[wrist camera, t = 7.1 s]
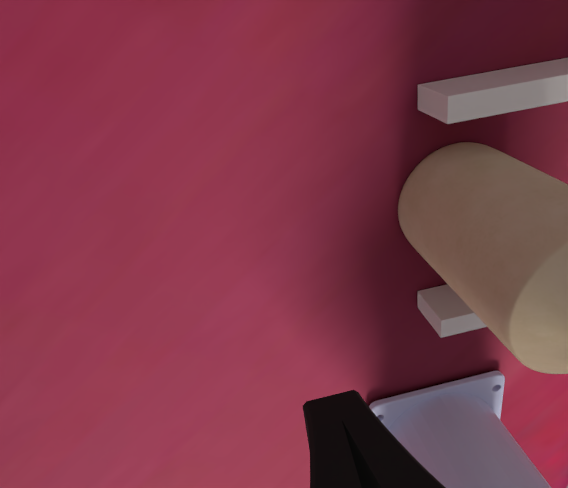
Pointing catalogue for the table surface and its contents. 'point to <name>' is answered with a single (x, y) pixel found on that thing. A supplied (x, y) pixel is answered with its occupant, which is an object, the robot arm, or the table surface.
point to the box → (471, 105)
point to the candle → (496, 244)
